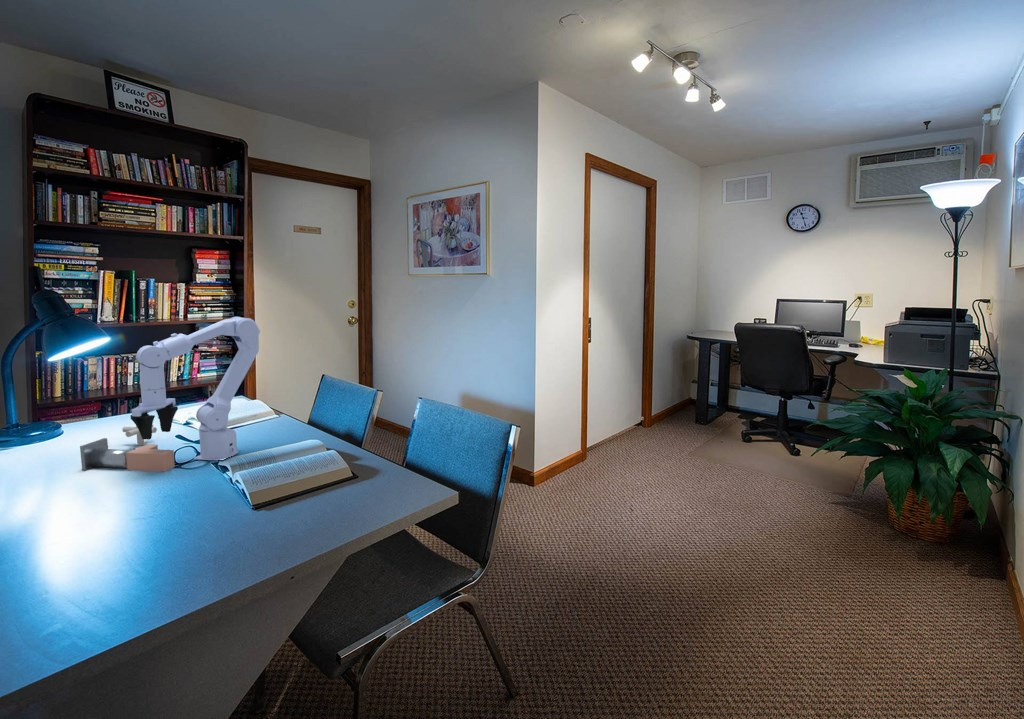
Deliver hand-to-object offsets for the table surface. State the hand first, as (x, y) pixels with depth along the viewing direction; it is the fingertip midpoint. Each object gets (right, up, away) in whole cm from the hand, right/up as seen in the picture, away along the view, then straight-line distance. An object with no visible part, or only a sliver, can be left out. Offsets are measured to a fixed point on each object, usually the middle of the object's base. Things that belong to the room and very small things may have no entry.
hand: (156, 435), depth 148 cm
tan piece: (-2, -9, +2) cm, 10 cm away
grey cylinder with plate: (-13, -9, +1) cm, 16 cm away
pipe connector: (-20, -6, +21) cm, 30 cm away
